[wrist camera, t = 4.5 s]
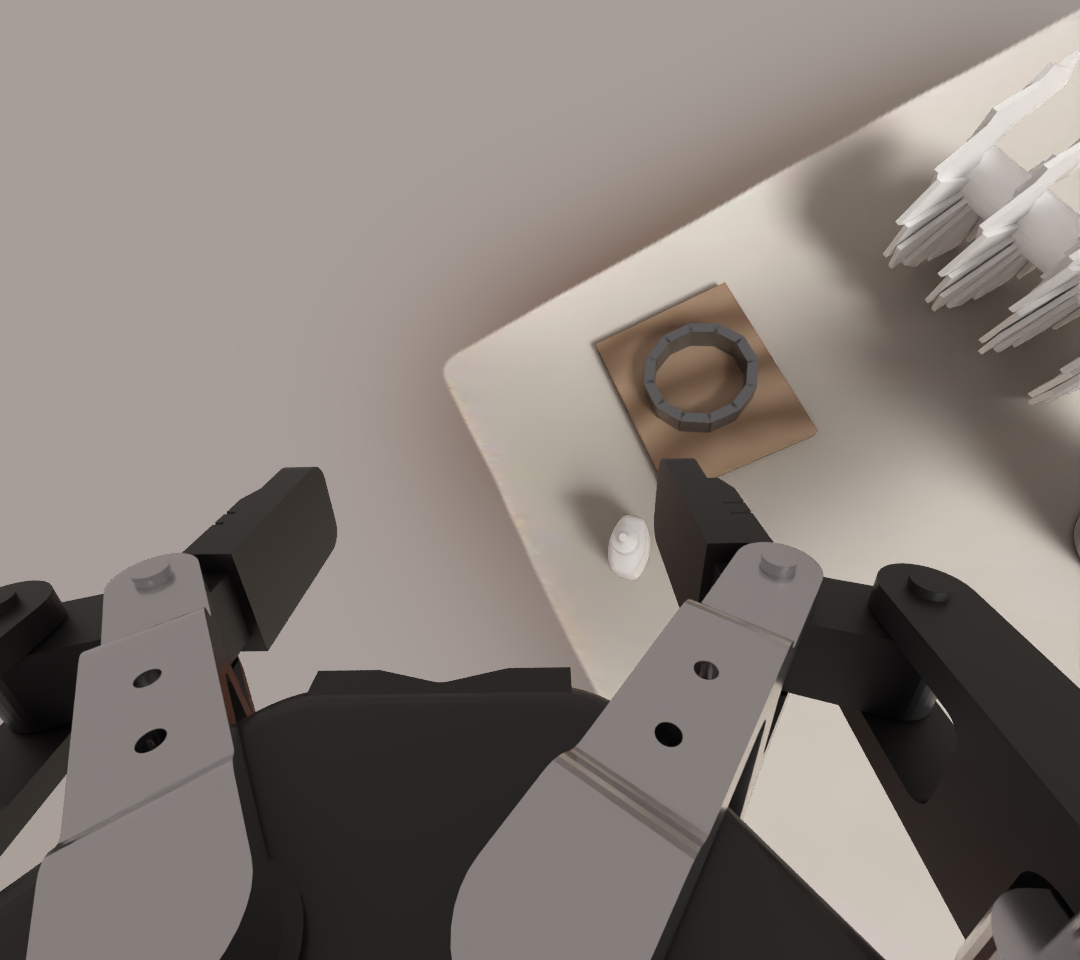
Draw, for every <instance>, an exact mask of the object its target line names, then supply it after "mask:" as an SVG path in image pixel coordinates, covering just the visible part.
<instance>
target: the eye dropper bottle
mask: <svg viewBox="0 0 1080 960" xmlns="http://www.w3.org/2000/svg"><path fill="white" fill-rule="evenodd" d="M649 553H650V537H649V532H648V529H647V525H646V522H645V521H644V520H643V519H642V518H639V517H636V516H631V515H625V516H623V517H622V518H621V519H620V520H619V522H618V523H617V524H616V526H615V528H614V530H613V532H612V534H611V537H610V541H609V546H608V560H609V565H610V568H611V570H612V571H613V572H614V573H615V574H617V575H618V576H620V577H623V578H626V579H630V580H636V579H637V578H638V577H639V576H640V575H641V573H642V572H643V570H644V568H645V566H646V564H647V561H648V558H649Z"/></svg>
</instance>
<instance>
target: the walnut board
mask: <svg viewBox="0 0 1080 960" xmlns="http://www.w3.org/2000/svg"><path fill="white" fill-rule="evenodd" d="M690 323H718V325H719V324H721V325H723V326H725V327H727V328H729V329H731V330H733V331H735V332H737V333H739V334H741V335H743V336H744V337H745V338H746V340H747V342H748V343H749V345H750V346H751V348H752V350H753V351H754V353H755V355H756V356H757V358H758V360H759V361H758V377H757V388H756V390H755V393H754V395H753V398H752V400H751V401H750V403H749V404H748V405H747V407H746V408H745V409H744V411H743V412H742V413H741V415H740V416H739V417H738V419H737V420H735V422H732V423H730V424H728V425H726V426H723V427H721V428H719V429H717V430H714V431H712V432H710V433H709V432H708V433H701V432H684V431H680V430H679V431H678V430H677V429H675V428H673V427H672V426H670V425H669V424H667V423H665V422H664V421H662V420H661V419H659V418H657V416H656V415H655V413H654V411H653V409H652V407H651V405H650V403H649V401H648V399H647V397H646V395H645V389H644V376H645V367H646V358H647V356H648V355H649V354H650V352H651V351H652V350H653V348H654V347H655V346H656V344H657V343H658V342H659V341H660V339H661V338H662V337H663V336H664V335H666V334H668V333H670V332H672V331H674V330H676V329H678V328H681V327H683V326H685V325H687V324H690ZM596 345H597V349H598V352H599V354H600V356H601V358H602V360H603V362H604V364H605V366H606V368H607V370H608V372H609V374H610V376H611V378H612V380H613V382H614V385H615V387H616V389H617V391H618V393H619V395H620V397H621V399H622V401H623V403H624V405H625V407H626V409H627V411H628V413H629V415H630V417H631V419H632V422H633V424H634V426H635V428H636V430H637V432H638V434H639V436H640V438H641V440H642V442H643V444H644V446H645V448H646V450H647V452H648V454H649V457H650V459H651V461H652V463H653V465H654V467H655V469H656V471H657V473H658V470H659V464H660V461H661V459H667V458H695V460H696V461H697V463H698V464H699V466H700V467H701V469H702V470H703V472H704V473H705V475H706V477H707V478H716V477H718V476H720V475H723V474H725V473H727V472H730V471H732V470H734V469H737V468H739V467H741V466H744V465H746V464H748V463H751V462H753V461H755V460H758V459H760V458H762V457H765V456H767V455H769V454H772V453H774V452H776V451H779V450H781V449H783V448H786V447H788V446H790V445H793V444H795V443H797V442H800V441H802V440H804V439H807V438H809V437H811V436H814V435H815V433H816V432H817V431H818V430H817V429H816V427H815V426H814V424H813V422H812V421H811V419H810V418H809V416H808V414H807V413H806V411H805V410H804V408H803V406H802V405H801V403H800V402H799V400H798V398H797V397H796V395H795V394H794V392H793V390H792V389H791V387H790V386H789V384H788V382H787V381H786V379H785V378H784V376H783V374H782V373H781V371H780V370H779V368H778V366H777V365H776V363H775V362H774V360H773V358H772V357H771V355H770V354H769V352H768V350H767V349H766V347H765V346H764V344H763V342H762V341H761V339H760V338H759V336H758V334H757V333H756V331H755V330H754V328H753V326H752V325H751V323H750V322H749V320H748V318H747V317H746V315H745V314H744V312H743V310H742V309H741V307H740V306H739V304H738V302H737V301H736V299H735V298H734V296H733V294H732V293H731V291H730V290H729V288H728V286H727V285H726V283H725V282H724V283H722V284H720V285H718V286H716V287H714V288H712V289H710V290H708V291H706V292H704V293H701V294H699V295H697V296H695V297H693V298H691V299H689V300H687V301H685V302H683V303H681V304H679V305H676V306H674V307H672V308H670V309H668V310H666V311H664V312H662V313H660V314H658V315H656V316H653V317H651V318H649V319H647V320H645V321H643V322H641V323H639V324H637V325H635V326H633V327H631V328H628V329H626V330H624V331H622V332H620V333H618V334H616V335H614V336H612V337H610V338H608V339H605V340H603V341H601V342H599V343H597V344H596ZM743 379H744V374H743V373H742V371H741V369H740V368H739V366H738V364H737V363H736V361H735V359H734V358H733V356H731V355H729V354H727V353H725V352H723V351H721V350H720V349H718V348H716V347H714V346H689V347H686V348H684V349H682V350H680V351H678V352H676V353H674V354H671V355H669V357H668V358H667V359H666V361H665V362H664V363H663V365H662V366H661V367H660V369H659V370H658V371H657V373H656V382H655V385H656V387H657V389H658V391H659V392H660V394H661V396H662V398H663V400H664V401H666V402H667V403H669V404H671V405H672V406H674V407H676V408H677V409H679V410H681V411H682V412H689V413H711V412H713V411H716V410H718V409H720V408H722V407H724V406H727V405H729V404H731V403H732V402H733V401H734V400H735V399H736V397H737V396H738V395H739V393H740V392H741V391H742V389H743Z"/></svg>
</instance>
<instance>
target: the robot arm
mask: <svg viewBox="0 0 1080 960" xmlns="http://www.w3.org/2000/svg"><path fill="white" fill-rule="evenodd" d="M654 531H655V538H656V542H657V545H658V548H659V551H660V554H661V557H662V559H663V562H664V565H665V568H666V571H667V574H668V576H669V579H670V582H671V585H672V588H673V591H674V593H675V596H676V599H677V602H678V605H679V610H678V611H677V612H676V614H675V615H674V617H673V618H672V619H671V621H670V622H669V623H668V625H667V626H666V627H665V629H664V630H663V631H662V633H661V634H660V635H659V637H658V638H657V639H656V641H655V642H654V643H653V645H652V646H651V647H650V649H649V650H648V651H647V653H646V654H645V655H644V657H643V658H642V659H641V661H640V662H639V663H638V665H637V666H636V667H635V669H634V670H633V671H632V673H631V674H630V675H629V677H628V678H627V679H626V681H625V682H624V683H623V685H622V686H621V688H620V689H619V690H618V692H617V693H616V694H615V696H614V697H613V698H612V700H611V701H610V700H608V699H605V698H603V697H601V696H599V695H596V694H593V693H590V692H587V691H584V690H580V689H576V688H572V687H571V672H570V667H567V668H565V667H562V668H561V667H560V668H507V669H503V670H498V671H493V672H489V673H484V674H480V675H476V676H471V677H467V678H463V679H458V680H453V681H449V682H440V683H439V682H432V681H427V680H423V679H418V678H414V677H409V676H405V675H400V674H395V673H391V672H386V671H381V670H360V671H359V670H356V671H318V673H317V675H316V677H315V679H314V681H313V683H312V685H311V687H310V689H309V691H308V692H307V693H303V694H299V695H296V696H292V697H290V698H286V699H284V700H281V701H279V702H276V703H274V704H271V705H269V706H267V707H265V708H263V709H261V710H259V711H257V712H255V708H254V704H253V701H252V697H251V694H250V691H249V687H248V683H247V679H246V676H245V672H244V669H243V666H242V664H241V662H240V659H239V657H238V654H239V653H240V651H268V650H269V649H270V647H271V645H272V644H273V642H274V641H275V639H276V638H277V636H278V635H279V633H280V631H281V630H282V628H283V627H284V625H285V624H286V622H287V621H288V619H289V617H290V616H291V614H292V613H293V611H294V610H295V608H296V607H297V605H298V603H299V602H300V600H301V599H302V597H303V595H304V594H305V593H306V591H307V589H308V588H309V586H310V585H311V583H312V582H313V580H314V578H315V577H316V576H317V574H318V572H319V571H320V569H321V568H322V566H323V565H324V563H325V562H326V560H327V558H328V557H329V555H330V554H331V552H332V551H333V549H334V547H335V543H336V538H337V526H336V521H335V517H334V513H333V509H332V505H331V501H330V497H329V494H328V489H327V485H326V481H325V478H324V475H323V473H322V471H321V470H320V469H319V468H318V467H292V468H283V469H281V470H280V471H279V472H278V473H277V474H276V475H275V476H274V477H273V478H272V479H271V480H269V481H268V482H267V483H266V484H265V485H264V486H263V487H262V488H261V489H259V490H257V491H255V492H253V493H252V494H250V495H248V496H246V497H244V498H242V499H240V500H239V501H238V502H237V503H236V504H235V505H234V506H233V507H232V508H231V509H230V510H229V511H227V514H224V515H223V516H222V517H221V518H220V519H219V520H217V522H216V524H215V525H212V526H211V527H210V528H209V529H208V530H207V531H205V532H204V533H203V534H202V535H201V536H200V537H199V538H198V539H197V540H196V541H194V542H193V544H191V545H190V546H189V547H188V548H187V549H186V550H185V551H183V552H182V553H175V554H174V553H173V554H166V555H161V556H158V557H154V558H151V559H147V560H144V561H142V562H140V563H137V564H135V565H133V566H131V567H129V568H127V569H126V570H124V571H122V572H121V573H119V574H118V575H116V576H115V577H114V578H113V579H112V580H111V581H110V582H109V583H108V584H107V586H106V588H105V590H104V594H101V595H96V596H91V597H86V598H82V599H76V600H72V601H66V602H61V601H60V599H59V597H58V596H57V594H56V592H55V591H54V589H53V587H52V586H51V585H50V584H49V583H47V582H45V581H24V582H19V583H14V584H10V585H6V586H3V587H0V717H1V719H2V720H3V721H4V722H3V723H2V725H0V856H1V855H2V854H3V852H4V851H5V850H6V849H7V847H8V846H9V845H10V844H11V842H12V841H13V840H14V839H15V837H16V836H17V835H18V834H19V832H20V831H21V830H22V829H23V827H24V826H25V825H26V824H27V822H28V821H29V820H30V819H31V817H32V816H33V815H34V814H35V813H36V811H37V810H38V809H39V808H40V806H41V805H42V804H43V803H44V801H45V800H46V799H47V797H48V796H49V795H50V794H51V793H52V791H53V790H54V789H55V788H56V786H57V785H58V784H59V783H60V782H61V780H62V779H63V778H64V777H65V775H66V774H67V778H66V788H65V799H64V808H63V817H62V826H61V834H60V839H59V841H58V844H57V845H56V847H55V848H54V849H53V850H51V851H50V852H48V853H47V855H46V856H45V858H44V859H43V861H42V862H41V863H40V864H38V865H37V866H36V867H34V868H33V869H32V870H30V871H29V872H27V873H26V874H24V875H23V876H22V877H21V878H19V879H17V880H16V881H15V882H13V883H12V884H10V885H9V886H8V887H6V888H5V889H3V890H2V891H1V892H0V960H885V959H884V958H883V957H882V956H881V955H880V954H879V953H878V952H877V951H876V950H875V949H874V948H873V947H872V946H871V945H870V944H869V943H868V942H867V941H866V940H865V939H864V938H863V937H862V936H861V935H860V934H858V933H857V932H856V931H855V930H854V929H853V928H852V927H851V926H850V925H849V924H848V923H847V922H846V921H845V920H844V919H843V918H842V917H841V916H840V915H839V914H838V913H837V912H836V911H835V910H834V909H833V908H832V907H831V906H830V905H829V904H828V903H827V902H826V901H825V900H824V899H823V898H822V897H820V896H819V895H818V894H817V893H816V892H815V891H814V890H813V889H812V888H811V887H810V886H809V885H808V884H807V883H806V882H805V881H804V880H803V879H802V878H801V877H800V876H799V875H798V874H797V873H796V872H795V871H794V870H793V869H792V868H791V867H790V866H789V865H788V864H787V863H786V862H785V861H784V860H783V859H781V858H780V857H779V856H778V855H777V854H776V853H775V852H774V851H773V850H772V849H771V848H770V847H769V846H768V845H767V844H766V843H765V842H764V841H763V840H762V839H761V838H760V837H759V836H758V835H757V834H756V833H755V832H754V831H753V830H752V829H751V828H750V827H749V826H748V825H747V824H746V823H745V822H743V819H744V816H745V813H746V810H747V808H748V805H749V802H750V799H751V796H752V793H753V789H754V786H755V783H756V780H757V778H758V775H759V772H760V769H761V767H762V764H763V761H764V759H765V756H766V754H767V751H768V749H769V746H770V743H771V741H772V738H773V736H774V733H775V731H776V728H777V725H778V723H779V720H780V718H781V715H782V712H783V710H784V707H785V705H786V702H787V700H788V697H789V694H790V693H792V694H796V695H801V696H805V697H809V698H813V699H817V700H821V701H825V702H829V703H833V704H837V705H839V706H840V708H841V710H842V712H843V714H844V716H845V718H846V720H847V721H848V723H849V725H850V727H851V729H852V731H853V733H854V734H855V736H856V738H857V740H858V742H859V744H860V745H861V747H862V749H863V751H864V753H865V755H866V757H867V758H868V760H869V762H870V764H871V766H872V768H873V770H874V771H875V773H876V775H877V777H878V779H879V781H880V783H881V784H882V786H883V788H884V790H885V792H886V794H887V795H888V797H889V799H890V801H891V803H892V805H893V807H894V808H895V810H896V812H897V814H898V816H899V818H900V820H901V821H902V823H903V825H904V827H905V829H906V831H907V833H908V834H909V836H910V838H911V840H912V842H913V844H914V846H915V847H916V849H917V851H918V853H919V855H920V857H921V858H922V860H923V862H924V864H925V866H926V868H927V870H928V871H929V873H930V875H931V877H932V879H933V881H934V883H935V884H936V886H937V888H938V890H939V892H940V894H941V896H942V897H943V899H944V901H945V903H946V905H947V907H948V908H949V910H950V912H951V914H952V916H953V918H954V920H955V921H956V923H957V925H958V927H959V929H960V931H961V933H962V934H963V936H964V938H965V942H964V943H963V944H962V946H961V947H960V948H959V949H958V952H957V954H956V957H955V960H1080V688H1078V687H1077V686H1076V685H1075V684H1074V683H1073V682H1072V681H1071V680H1070V679H1069V678H1068V677H1067V676H1066V675H1064V674H1063V673H1062V672H1061V671H1060V670H1059V669H1058V668H1057V667H1056V666H1055V665H1054V664H1053V663H1052V662H1050V661H1049V660H1048V659H1047V658H1046V657H1045V656H1044V655H1043V654H1042V653H1041V652H1040V651H1039V650H1038V649H1037V648H1035V647H1034V646H1033V645H1032V644H1031V643H1030V642H1029V641H1028V640H1027V639H1026V638H1025V637H1024V636H1023V635H1021V634H1020V633H1019V632H1018V631H1017V630H1016V629H1015V628H1014V627H1013V626H1012V625H1011V624H1010V623H1009V622H1007V621H1006V620H1005V619H1004V618H1003V617H1002V616H1001V615H1000V614H999V613H998V612H997V611H996V610H995V609H994V608H992V607H991V606H990V605H989V604H988V603H987V602H986V601H985V600H984V599H983V598H982V597H981V596H980V595H978V594H977V593H976V592H975V591H974V590H973V589H972V588H970V587H969V586H968V585H966V584H965V583H963V582H962V581H960V580H958V579H957V578H955V577H953V576H951V575H948V574H946V573H944V572H941V571H938V570H936V569H932V568H929V567H925V566H921V565H915V564H904V563H901V564H891V565H887V566H885V567H883V568H881V569H880V570H879V572H878V574H877V577H876V580H875V583H874V586H870V585H864V584H859V583H853V582H847V581H842V580H836V579H831V578H826V577H823V571H822V569H821V567H820V565H819V564H818V563H817V562H816V561H815V560H814V559H813V558H812V557H810V556H809V555H807V554H806V553H804V552H802V551H800V550H798V549H796V548H793V547H790V546H787V545H783V544H778V543H773V541H772V540H771V538H770V537H769V536H768V534H767V533H766V531H765V530H764V529H763V527H762V526H761V524H760V523H759V522H758V520H757V519H756V518H755V516H754V515H753V513H751V511H750V509H749V508H748V506H747V505H746V504H745V503H743V499H742V498H741V497H740V495H739V494H738V492H737V491H736V490H735V488H733V487H732V486H730V485H729V484H727V483H725V482H724V481H722V480H721V479H719V478H707V477H706V475H705V473H704V472H703V470H702V469H701V467H700V466H699V464H698V463H697V461H696V460H695V458H667V459H661V461H660V464H659V470H658V480H657V491H656V502H655V513H654ZM1074 542H1075V546H1076V550H1077V552H1078V555H1079V557H1080V516H1079V517H1078V519H1077V522H1076V525H1075V528H1074ZM936 699H938V700H939V701H940V703H941V704H942V705H943V707H944V708H945V709H946V711H947V712H948V714H949V715H950V717H951V719H952V721H953V723H952V722H951V721H950V719H949V718H948V717H947V715H946V714H945V713H944V711H943V710H942V709H941V707H940V706H939V705H938V703H937V702H936ZM953 724H954V725H953Z"/></svg>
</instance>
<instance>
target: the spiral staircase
mask: <svg viewBox="0 0 1080 960" xmlns="http://www.w3.org/2000/svg"><path fill="white" fill-rule="evenodd" d="M1079 57H1080V52H1079V51H1078V50H1076V51H1074V52H1073V53H1072V54H1071V55H1070V56H1068V57H1067V58H1066V59H1065V60H1064V61H1062V62H1061V63H1060V64H1056V63H1051V62H1049V63H1048V64H1047V65H1046V66H1045V67H1044V68H1043V69H1042V70H1041V71H1040V72H1039V73H1038V74H1037V75H1036V76H1035V77H1034V78H1033V79H1032V80H1031V81H1030V83H1029V84H1028V85H1027V86H1026V87H1025V88H1024V89H1023V90H1022V91H1020V92H1018V93H1017V94H1015V95H1013V96H1012V97H1010V98H1008V99H1007V100H1005V101H1003V102H1002V103H1000V104H998V105H997V106H995V107H993V108H992V109H991V111H990V112H989V114H988V115H987V116H986V118H985V119H984V120H983V122H982V123H981V124H980V126H979V127H978V128H977V130H976V131H975V132H974V134H973V135H972V136H971V138H970V139H968V140H967V142H966V143H965V144H964V145H963V146H961V147H960V148H959V149H958V150H957V151H955V152H954V153H953V154H952V155H951V156H949V157H948V158H947V159H946V160H944V161H943V162H942V163H941V164H940V165H938V166H937V167H936V168H935V169H934V172H933V177H932V182H931V186H930V187H929V188H928V189H927V190H926V191H925V192H924V193H923V194H922V195H921V196H920V197H919V198H918V199H917V200H916V201H915V202H914V203H913V204H912V205H911V206H910V207H909V208H908V209H907V210H906V211H905V212H904V213H903V214H902V215H901V216H900V217H899V218H898V219H897V220H896V221H895V222H896V223H897V224H898V225H904V226H903V227H902V229H901V230H900V231H899V233H898V234H897V235H896V237H895V238H894V239H893V241H892V242H891V243H890V245H889V246H888V247H887V249H886V250H885V252H884V253H883V255H884V256H885V257H888V256H889V255H891V254H893V253H894V254H893V256H892V258H891V260H890V263H889V265H888V266H889V267H890V268H891V269H892V268H893V267H895V266H896V265H898V264H899V263H900V262H902V263H903V264H904V265H905V266H912V267H917V266H918V265H919V264H920V263H921V262H923V261H924V260H925V259H927V260H928V261H930V260H932V259H934V258H936V257H938V256H940V255H942V254H944V253H946V252H948V251H950V250H952V249H954V248H956V247H957V246H958V245H959V244H960V243H961V242H962V241H963V240H964V239H965V238H966V237H967V238H966V239H965V240H966V241H967V242H968V243H969V242H971V241H972V240H973V239H975V238H976V240H975V241H974V242H973V243H972V244H971V245H969V246H968V247H967V248H966V249H965V250H964V251H962V252H961V253H960V254H959V255H958V256H957V257H956V258H954V259H953V260H952V261H951V262H950V263H949V264H948V265H946V266H945V267H944V268H943V269H942V270H941V271H940V272H938V274H939V275H940V276H941V277H943V276H946V275H947V276H946V277H945V278H944V279H943V281H942V282H941V283H940V284H939V285H938V286H937V287H936V288H935V289H934V290H933V291H932V292H931V293H930V294H929V296H928V297H927V298H926V299H925V301H926V302H927V303H930V302H931V301H933V300H934V299H936V298H937V299H936V301H935V302H934V304H933V306H932V307H931V309H932V310H933V311H934V312H935V311H936V310H938V309H939V308H941V307H942V306H944V305H945V304H946V306H947V307H948V308H953V307H957V306H961V305H963V304H964V303H965V302H967V301H968V300H969V299H971V298H973V299H974V300H976V299H978V298H980V297H982V296H983V295H985V294H987V293H989V292H991V291H992V290H994V289H996V288H998V287H999V286H1001V285H1003V284H1005V283H1006V282H1007V281H1009V280H1010V279H1011V278H1012V277H1014V276H1015V275H1016V274H1017V273H1018V272H1019V273H1018V274H1017V275H1016V277H1017V278H1018V279H1020V278H1022V277H1023V276H1025V275H1027V274H1028V273H1030V272H1031V271H1033V270H1034V269H1036V268H1038V269H1039V270H1040V271H1041V272H1042V273H1044V274H1042V275H1041V276H1040V277H1041V278H1042V279H1043V281H1042V282H1041V283H1040V284H1039V285H1038V286H1037V287H1035V288H1034V289H1033V290H1032V291H1031V292H1030V293H1029V294H1028V295H1027V296H1025V297H1024V298H1022V299H1021V300H1019V301H1018V302H1017V303H1015V304H1014V305H1012V306H1011V307H1009V308H1008V309H1009V310H1010V311H1011V312H1012V313H1013V312H1015V313H1014V314H1012V315H1011V316H1010V317H1008V318H1007V319H1006V320H1004V321H1003V322H1002V323H1000V324H999V325H998V326H996V327H995V328H993V329H992V330H991V331H989V332H988V333H987V334H985V335H984V336H983V337H981V338H980V339H978V340H979V341H980V342H981V343H982V344H983V343H984V342H986V341H988V340H989V339H991V338H993V337H995V336H996V335H997V336H996V337H995V338H993V339H992V340H991V341H989V342H988V343H987V344H986V345H984V346H983V347H982V348H980V349H979V350H978V352H979V353H980V354H981V355H982V354H983V353H985V352H987V351H988V350H990V349H992V348H993V347H994V348H993V349H994V350H995V351H996V352H998V353H999V352H1001V351H1002V350H1004V349H1006V348H1007V347H1009V346H1010V345H1012V346H1013V347H1014V348H1015V347H1017V346H1019V345H1020V344H1022V343H1024V342H1026V341H1028V340H1029V339H1031V338H1033V337H1035V336H1036V335H1038V334H1040V333H1041V332H1043V331H1044V330H1046V329H1048V328H1049V327H1051V326H1052V325H1053V326H1052V328H1053V329H1054V330H1057V329H1059V328H1060V327H1062V326H1064V325H1065V324H1067V323H1069V322H1070V321H1072V320H1074V319H1075V318H1077V317H1079V316H1080V215H1079V214H1078V213H1076V212H1075V211H1074V210H1073V209H1072V208H1070V207H1069V206H1068V205H1067V204H1065V203H1064V202H1063V201H1062V200H1061V199H1059V198H1058V197H1057V196H1056V195H1055V194H1053V193H1052V192H1051V191H1050V190H1049V188H1050V187H1051V186H1052V185H1053V184H1054V183H1056V182H1058V181H1059V180H1061V179H1063V178H1065V177H1067V176H1069V175H1071V174H1072V173H1073V172H1074V171H1075V170H1076V169H1077V168H1078V167H1079V166H1080V139H1079V140H1077V141H1076V142H1075V143H1074V144H1073V145H1072V146H1071V147H1069V148H1068V149H1067V150H1065V151H1064V152H1063V153H1061V154H1060V155H1058V156H1055V155H1054V154H1053V155H1052V156H1051V157H1050V158H1048V159H1047V160H1046V161H1043V162H1042V163H1040V164H1039V165H1037V166H1036V167H1035V168H1033V169H1032V170H1030V171H1029V172H1027V171H1026V170H1025V169H1023V168H1022V167H1021V166H1020V165H1019V164H1017V163H1016V162H1015V161H1014V160H1013V159H1011V158H1010V157H1009V156H1008V155H1007V154H1005V153H1004V152H1003V151H1002V150H1001V149H999V148H998V147H997V146H996V145H995V144H996V143H997V142H998V141H999V140H1000V139H1001V138H1002V137H1003V136H1004V135H1005V134H1006V133H1007V132H1008V131H1009V130H1010V129H1011V128H1013V127H1014V126H1015V125H1016V124H1018V123H1019V122H1020V121H1021V120H1023V119H1024V118H1025V117H1026V116H1028V115H1029V114H1030V113H1031V112H1032V111H1034V110H1035V109H1036V108H1037V107H1039V106H1040V105H1041V104H1042V103H1044V102H1045V101H1046V100H1047V99H1049V98H1050V97H1051V96H1052V95H1054V94H1055V93H1056V92H1057V91H1058V90H1060V89H1061V88H1062V87H1063V86H1065V85H1066V83H1067V81H1068V79H1069V77H1070V75H1071V73H1072V71H1073V69H1074V67H1075V65H1076V63H1077V61H1078V59H1079ZM949 301H950V302H949ZM1016 311H1017V312H1016ZM1072 312H1073V313H1072ZM1069 314H1070V315H1069ZM1066 316H1067V317H1066ZM1063 318H1064V319H1063ZM1060 320H1061V321H1060ZM1058 321H1059V322H1058ZM1057 322H1058V323H1057ZM1055 323H1056V324H1055ZM1054 324H1055V325H1054ZM1001 342H1002V343H1001ZM998 344H999V345H998ZM996 345H997V346H996ZM1059 370H1060V371H1061V372H1062V373H1061V374H1060V375H1058V376H1056V377H1055V378H1053V379H1051V380H1049V381H1048V382H1046V383H1044V384H1043V385H1041V386H1039V387H1038V388H1036V389H1034V390H1033V391H1031V392H1029V393H1028V394H1029V395H1030V396H1031V397H1032V399H1030V400H1028V401H1027V402H1028V403H1029V404H1030V405H1033V404H1035V403H1038V402H1040V401H1042V400H1045V401H1046V402H1047V403H1049V402H1051V401H1052V400H1054V399H1056V398H1058V397H1060V396H1062V395H1064V394H1065V393H1068V394H1070V393H1072V392H1074V391H1076V390H1078V389H1080V356H1079V357H1078V358H1076V359H1075V360H1073V361H1072V362H1070V363H1069V364H1067V365H1066V366H1064V367H1063V368H1061V369H1059ZM1040 393H1041V394H1040ZM1038 394H1039V395H1038ZM1036 395H1037V396H1036ZM1033 397H1034V398H1033Z"/></svg>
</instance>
